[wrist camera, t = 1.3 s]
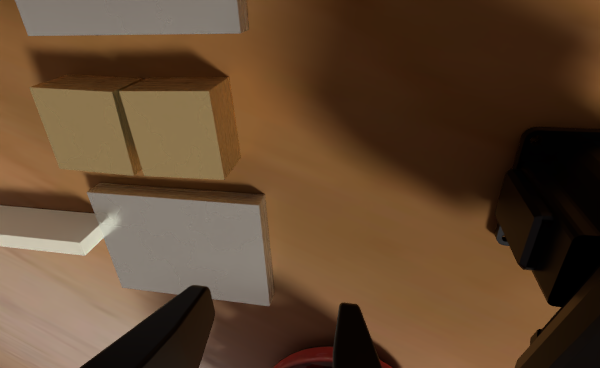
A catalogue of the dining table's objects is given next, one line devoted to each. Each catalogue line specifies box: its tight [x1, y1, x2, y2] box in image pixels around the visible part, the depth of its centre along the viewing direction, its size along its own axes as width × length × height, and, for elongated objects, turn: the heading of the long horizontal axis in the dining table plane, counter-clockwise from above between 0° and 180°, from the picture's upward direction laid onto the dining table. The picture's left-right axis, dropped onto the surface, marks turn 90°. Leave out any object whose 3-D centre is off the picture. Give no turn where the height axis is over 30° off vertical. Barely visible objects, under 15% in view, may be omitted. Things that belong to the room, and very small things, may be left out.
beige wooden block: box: [29, 74, 143, 176], centre depth 20 cm, size 4×4×3 cm
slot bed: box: [15, 0, 274, 306], centre depth 20 cm, size 11×25×1 cm, turn 2°
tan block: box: [119, 77, 241, 180], centre depth 19 cm, size 4×4×3 cm
